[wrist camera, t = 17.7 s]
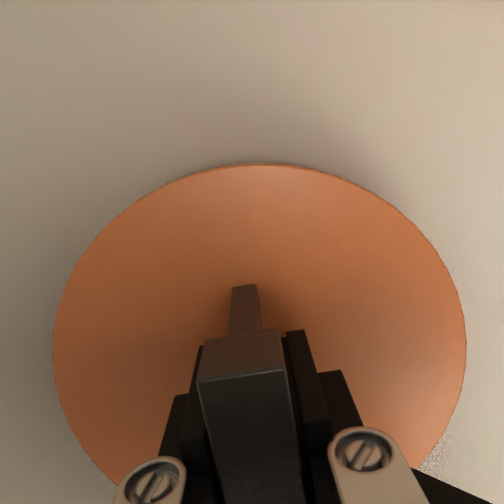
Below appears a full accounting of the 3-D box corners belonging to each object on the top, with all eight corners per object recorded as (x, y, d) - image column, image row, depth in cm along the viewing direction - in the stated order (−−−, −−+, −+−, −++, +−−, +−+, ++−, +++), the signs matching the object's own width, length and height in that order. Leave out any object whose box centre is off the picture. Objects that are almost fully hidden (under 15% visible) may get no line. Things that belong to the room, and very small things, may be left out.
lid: (121, 529, 15) (46, 762, 10) (15, 200, 12) (-192, 257, 6) (457, 480, 15) (586, 694, 9) (440, 126, 12) (624, 116, 6)
